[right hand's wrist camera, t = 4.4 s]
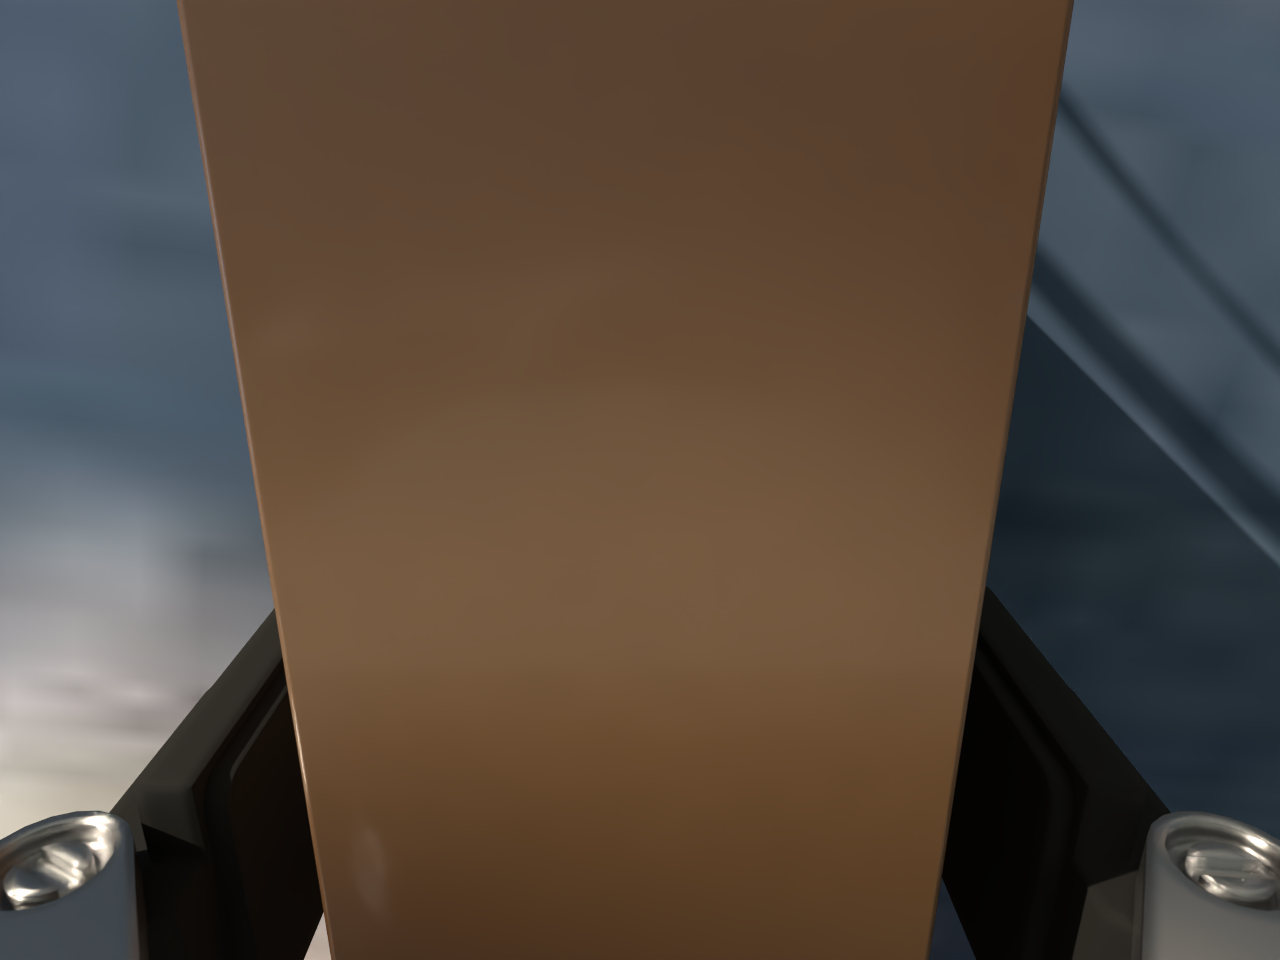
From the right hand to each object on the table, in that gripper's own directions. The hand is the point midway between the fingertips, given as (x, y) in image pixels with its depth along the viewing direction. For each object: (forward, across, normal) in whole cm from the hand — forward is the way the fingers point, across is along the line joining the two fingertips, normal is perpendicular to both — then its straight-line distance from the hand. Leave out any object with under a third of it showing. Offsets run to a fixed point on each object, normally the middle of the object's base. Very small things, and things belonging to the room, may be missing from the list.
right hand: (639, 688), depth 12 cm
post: (+4, 0, -31) cm, 31 cm away
